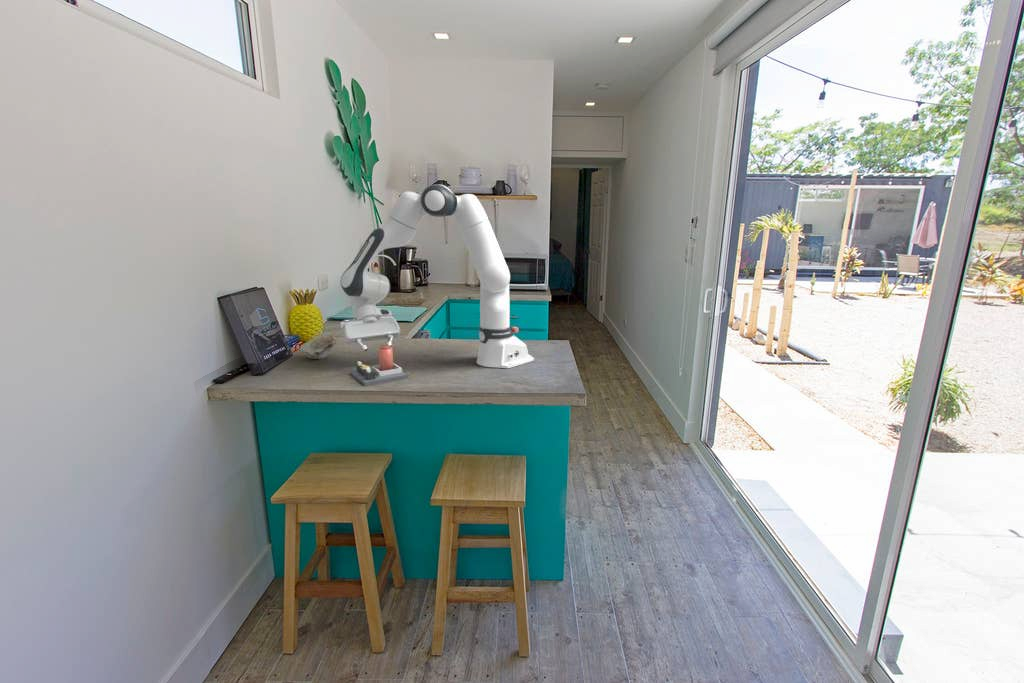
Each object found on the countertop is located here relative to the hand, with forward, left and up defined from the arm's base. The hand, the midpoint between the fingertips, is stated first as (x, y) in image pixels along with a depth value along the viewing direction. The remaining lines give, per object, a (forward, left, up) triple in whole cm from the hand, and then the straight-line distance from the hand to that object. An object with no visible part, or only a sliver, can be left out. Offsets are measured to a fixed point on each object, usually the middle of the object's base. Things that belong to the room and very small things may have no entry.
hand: (377, 348), depth 182 cm
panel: (+3, +7, -8) cm, 11 cm away
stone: (+15, -27, -8) cm, 32 cm away
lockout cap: (0, +7, -7) cm, 10 cm away
